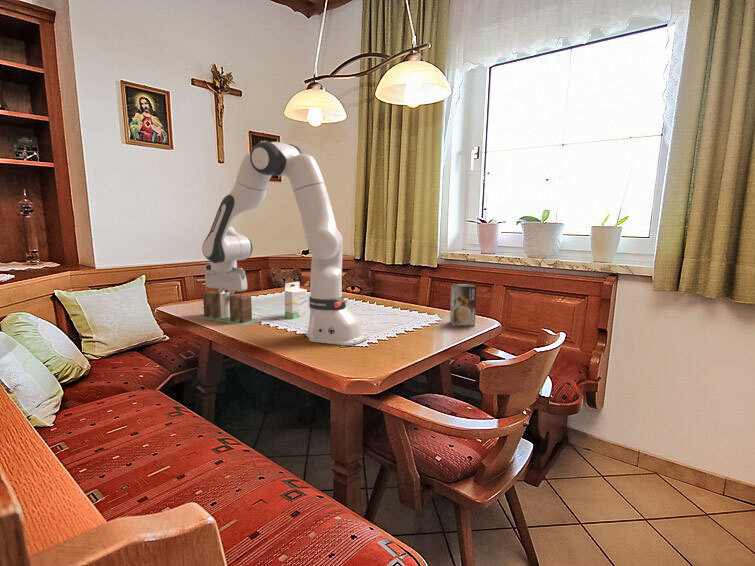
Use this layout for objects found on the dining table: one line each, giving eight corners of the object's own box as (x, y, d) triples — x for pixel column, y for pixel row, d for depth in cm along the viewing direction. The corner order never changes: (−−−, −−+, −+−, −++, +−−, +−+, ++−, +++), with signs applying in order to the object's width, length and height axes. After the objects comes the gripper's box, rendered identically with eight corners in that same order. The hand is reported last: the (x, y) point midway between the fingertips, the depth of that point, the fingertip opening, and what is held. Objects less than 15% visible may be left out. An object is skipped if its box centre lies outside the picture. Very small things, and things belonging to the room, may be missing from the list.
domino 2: (225, 315, 168) (224, 292, 167) (215, 318, 164) (214, 294, 162) (222, 315, 169) (221, 292, 168) (212, 317, 165) (211, 294, 163)
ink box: (292, 319, 165) (291, 284, 163) (284, 317, 168) (283, 283, 165) (307, 316, 172) (307, 282, 169) (300, 314, 175) (299, 281, 172)
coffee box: (471, 321, 167) (473, 283, 164) (475, 325, 160) (477, 286, 158) (449, 321, 166) (451, 283, 164) (452, 325, 160) (454, 286, 157)
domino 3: (242, 318, 164) (241, 294, 162) (233, 321, 160) (232, 297, 158) (239, 318, 165) (238, 294, 163) (230, 320, 160) (229, 296, 159)
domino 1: (216, 314, 171) (215, 291, 169) (207, 316, 166) (205, 293, 165) (213, 313, 171) (212, 291, 170) (204, 316, 167) (202, 292, 165)
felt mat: (262, 320, 163) (262, 320, 163) (244, 326, 154) (243, 325, 154) (215, 312, 175) (215, 312, 175) (195, 317, 166) (195, 316, 166)
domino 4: (252, 320, 162) (251, 296, 160) (242, 323, 157) (241, 298, 156) (248, 319, 163) (247, 295, 161) (239, 322, 158) (238, 297, 157)
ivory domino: (233, 316, 166) (232, 292, 164) (224, 318, 162) (223, 294, 160) (230, 315, 167) (229, 292, 165) (221, 318, 162) (220, 293, 161)
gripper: (250, 267, 159) (251, 301, 161) (213, 264, 168) (215, 296, 170) (238, 269, 154) (239, 304, 156) (201, 265, 163) (203, 298, 165)
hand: (226, 300), depth 163 cm, fingers closed on ivory domino, 2 cm apart
